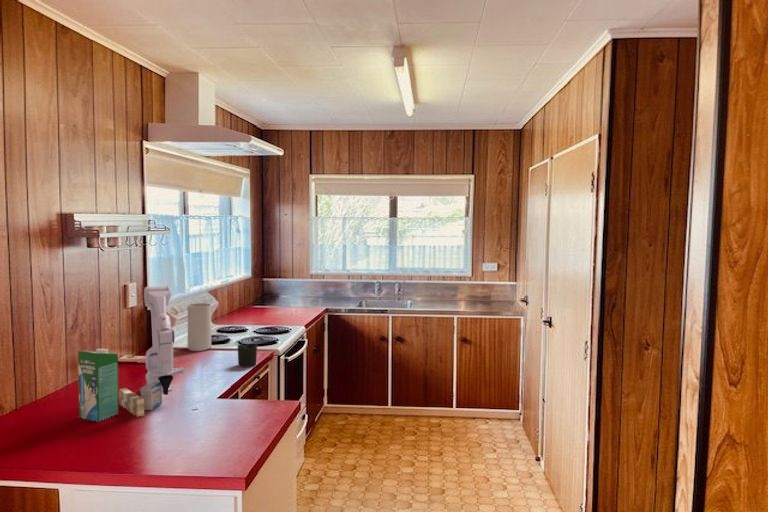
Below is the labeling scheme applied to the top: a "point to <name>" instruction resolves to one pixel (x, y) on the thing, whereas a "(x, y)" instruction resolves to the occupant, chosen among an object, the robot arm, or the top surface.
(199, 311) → the cylinder vase
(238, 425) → the top surface
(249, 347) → the pen holder
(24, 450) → the top surface
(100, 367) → the milk carton
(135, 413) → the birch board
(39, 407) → the top surface
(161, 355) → the robot arm
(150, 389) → the medicine box
